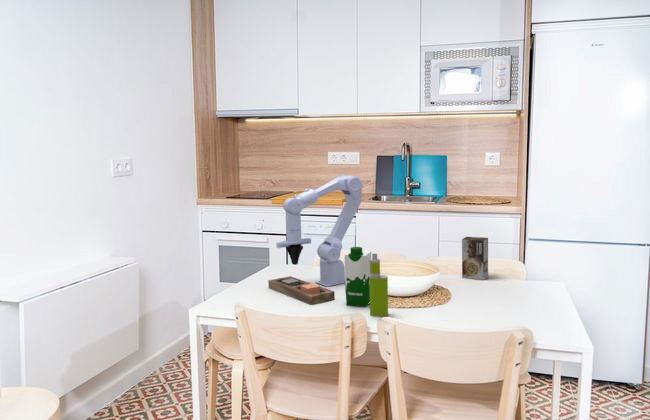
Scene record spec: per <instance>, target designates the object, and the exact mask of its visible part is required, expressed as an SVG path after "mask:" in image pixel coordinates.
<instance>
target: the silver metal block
mask: <svg viewBox="0 0 650 420" xmlns="http://www.w3.org/2000/svg"><path fill="white" fill-rule="evenodd" d="M281 283H284V284H286V285H289V286H297V285H299V281H298V280H295V279H287V280H282V281H281Z"/></svg>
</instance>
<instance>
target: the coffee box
mask: <svg viewBox="0 0 650 420" xmlns="http://www.w3.org/2000/svg"><path fill="white" fill-rule="evenodd" d="M461 272H462V273H461V275H462V276H461V279H468V280H469V279H471V280H480V281H481V280H482V281H485V280H486V279H487V278H489V237H479V236H465V237H463V238H462V239H461Z"/></svg>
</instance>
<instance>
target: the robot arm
mask: <svg viewBox="0 0 650 420" xmlns="http://www.w3.org/2000/svg"><path fill="white" fill-rule="evenodd" d="M363 188H364V185H363V182H362V180H361V179H360V177H358V176H356V175H353V176H352V175H348V174H343V175H340V176H338V177H336V178H334V179H333V180H330V181H329V182H327V183H325V184H324V185H321V186H320V187H318V188H316V189H313V188H306V189H304V191H303V192H301V193H299V194H294V197H288V198H286V199H285V201H284V202H283V205H282V208H283V210H284V211H285V232H286V233H285V234H286V235H285V237H286V240H282V241H279V242H276V248H277V249H282V248H285V249H286V251H287V253H288V255H289V258H290V261H291V264H292V265H295V266H296V265H299V259H300V256H301V253H302V252H303V249H304V246H303V245H307V244H308V245H309V244H310V245H311V244H312V238H311V237H310V238H309V237H307V238H302V222H301V221H302V220H301V218H302V217H301V213H302V211H303V210H304V209H307V208H308V207H310V206H312V205H314V204H316V203H317V202H318V201H319V198H321V197H323V196H325V195H328V194H331V192H334V191H337V190H339V191H340V190H341V192H342V193H343V195H344V197H345V199H346V202H345V203H344V206H343V208H342V209H341V211H340V213H339V215H338V216H337V220H336V221H335V224H334V225H333V227H332V229H331V231H330V233H329V235H328V236H327V237H326V238H324V240H323V241H322V243H321V244H319V245H318V247H317V250H316V252H317V255H318V257H320V258H319V276H320V277H319V278H320V279H319V280H316V281H315V284H318V285H322V286H325V287H331V286H335V285H340V284H345V262H343V260H341V259H340V257H341V251H342V249H343V244H342V243H343V242H342V241H343V239H344V237H345V235H346V233H347V231H348V230H349V227H350V225H351V223H352V221H353V219H354V217H355V216H356V213H357V211H358V209H359V208H360V205H361V203H362V191H363Z"/></svg>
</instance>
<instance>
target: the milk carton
mask: <svg viewBox="0 0 650 420" xmlns="http://www.w3.org/2000/svg"><path fill="white" fill-rule="evenodd" d="M370 259H372V250H363V247H361V246H352V247H350V250H349V251H347V252H346V253H344V267H345V283H344V286H345V288H344V289H345V291H344V292H345V302H346V306H351V307H364V308H366V307H367V306H368V305H369V304H370V303H369V302H370V285H369V276H370ZM368 303H369V304H368Z"/></svg>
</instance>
